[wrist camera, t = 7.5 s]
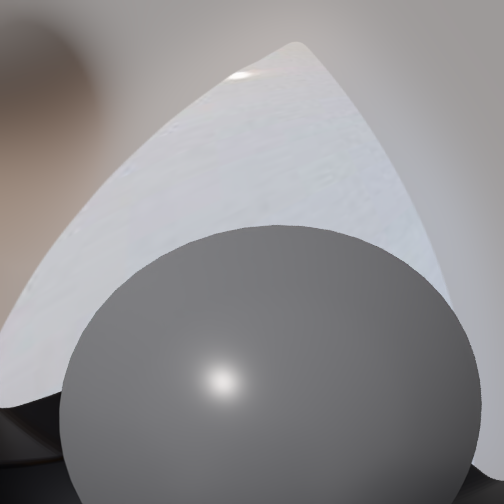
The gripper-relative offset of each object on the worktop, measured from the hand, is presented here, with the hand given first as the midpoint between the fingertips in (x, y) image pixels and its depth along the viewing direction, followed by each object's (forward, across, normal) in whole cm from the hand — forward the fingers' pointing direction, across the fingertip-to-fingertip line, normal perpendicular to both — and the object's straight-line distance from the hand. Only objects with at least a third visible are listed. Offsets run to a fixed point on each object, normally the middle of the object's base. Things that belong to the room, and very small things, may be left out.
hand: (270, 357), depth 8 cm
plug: (+4, 0, +6) cm, 7 cm away
